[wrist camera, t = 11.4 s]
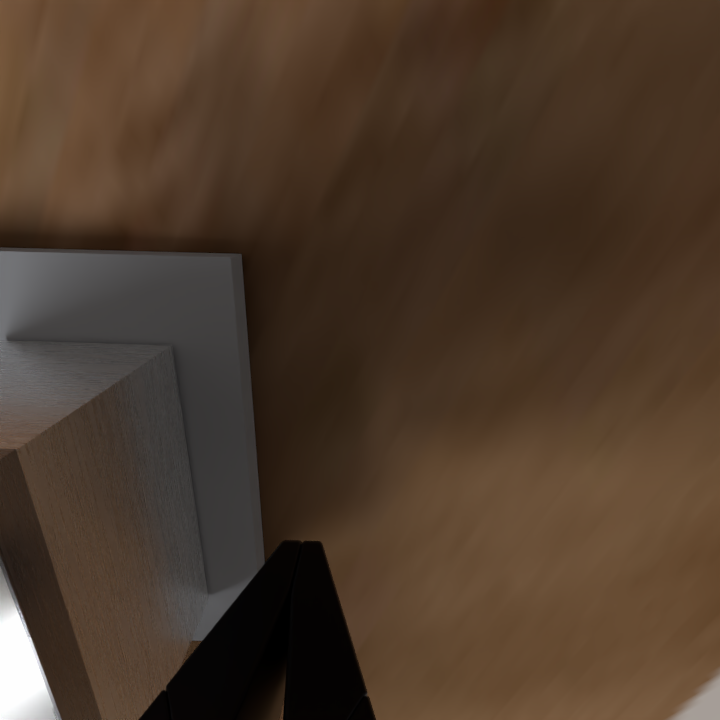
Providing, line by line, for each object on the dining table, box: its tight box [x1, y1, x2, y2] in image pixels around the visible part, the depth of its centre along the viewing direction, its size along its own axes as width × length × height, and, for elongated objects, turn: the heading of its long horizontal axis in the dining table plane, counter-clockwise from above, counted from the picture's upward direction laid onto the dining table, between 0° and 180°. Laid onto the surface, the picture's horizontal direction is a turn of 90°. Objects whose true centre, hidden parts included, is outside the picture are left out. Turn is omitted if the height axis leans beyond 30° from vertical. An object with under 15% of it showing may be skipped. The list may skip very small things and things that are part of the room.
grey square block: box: [0, 340, 209, 720], centre depth 8 cm, size 8×4×5 cm, turn 179°
